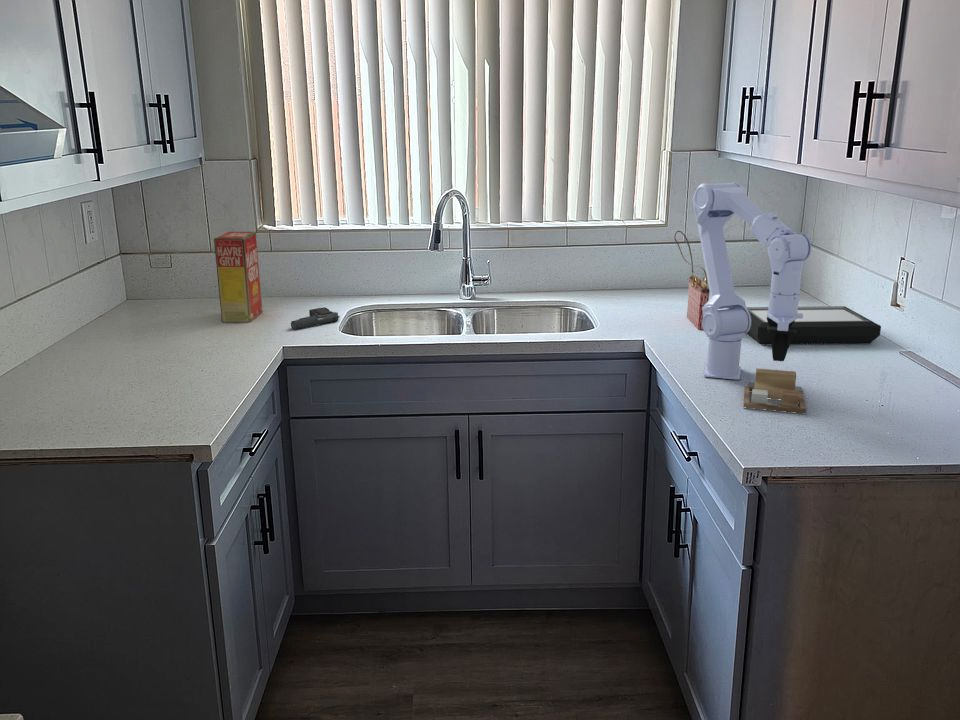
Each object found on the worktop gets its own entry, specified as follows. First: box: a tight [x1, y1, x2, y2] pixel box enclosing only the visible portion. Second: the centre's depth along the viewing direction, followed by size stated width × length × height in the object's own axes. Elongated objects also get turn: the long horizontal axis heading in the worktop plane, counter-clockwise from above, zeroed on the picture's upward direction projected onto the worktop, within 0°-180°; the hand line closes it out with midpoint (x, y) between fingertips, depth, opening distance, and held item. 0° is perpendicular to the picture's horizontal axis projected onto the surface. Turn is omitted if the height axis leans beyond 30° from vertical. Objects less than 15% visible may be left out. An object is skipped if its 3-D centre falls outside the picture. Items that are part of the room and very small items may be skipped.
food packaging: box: [213, 231, 264, 323], centre depth 240 cm, size 13×9×25 cm
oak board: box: [754, 368, 797, 401], centre depth 172 cm, size 2×8×6 cm, turn 72°
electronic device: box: [746, 305, 882, 345], centre depth 219 cm, size 32×6×20 cm
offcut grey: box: [750, 389, 768, 404], centre depth 169 cm, size 3×3×3 cm
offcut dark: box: [780, 389, 799, 407], centre depth 167 cm, size 3×3×4 cm
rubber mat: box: [748, 381, 803, 391], centre depth 178 cm, size 5×11×1 cm, turn 72°
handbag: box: [673, 230, 710, 331], centre depth 231 cm, size 7×21×25 cm, turn 179°
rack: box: [743, 385, 807, 414], centre depth 171 cm, size 12×12×1 cm
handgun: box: [290, 307, 341, 331], centre depth 237 cm, size 3×16×12 cm
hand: (777, 355), depth 170 cm, fingers open, 7 cm apart
